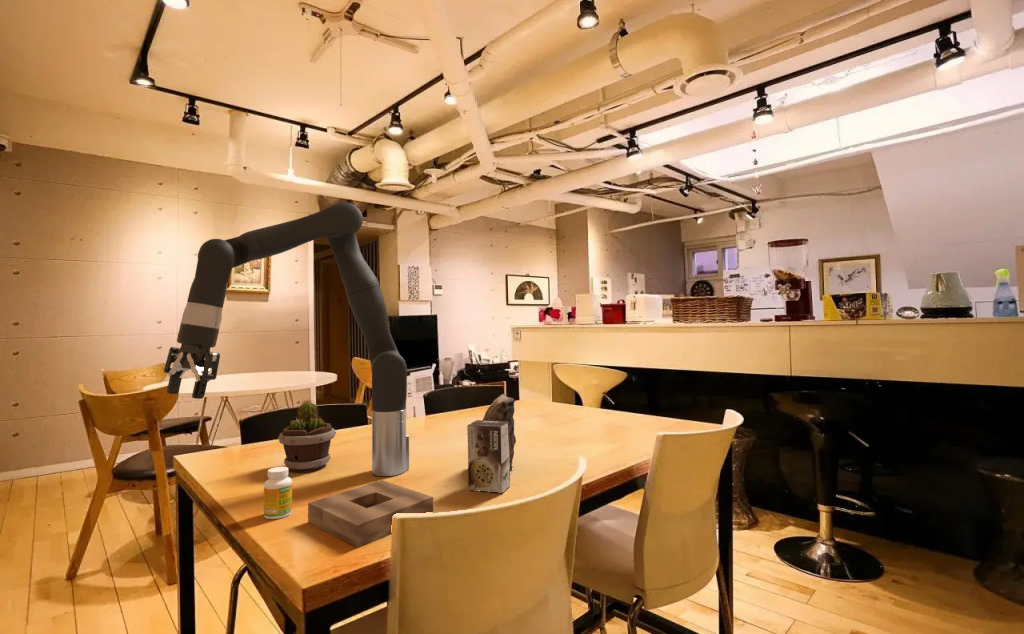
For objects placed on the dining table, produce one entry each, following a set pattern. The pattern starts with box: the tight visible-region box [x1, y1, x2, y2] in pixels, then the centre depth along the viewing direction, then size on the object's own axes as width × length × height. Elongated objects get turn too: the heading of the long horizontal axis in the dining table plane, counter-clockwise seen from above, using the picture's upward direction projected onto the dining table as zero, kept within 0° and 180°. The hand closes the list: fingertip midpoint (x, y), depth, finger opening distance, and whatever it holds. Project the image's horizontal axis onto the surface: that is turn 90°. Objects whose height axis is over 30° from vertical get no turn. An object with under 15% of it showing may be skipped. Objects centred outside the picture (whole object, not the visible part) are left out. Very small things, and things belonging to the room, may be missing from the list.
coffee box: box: [466, 419, 511, 494], centre depth 116 cm, size 9×6×16 cm
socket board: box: [307, 479, 434, 548], centre depth 98 cm, size 18×18×4 cm
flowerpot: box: [277, 398, 337, 473], centre depth 135 cm, size 14×15×20 cm
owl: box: [482, 393, 517, 472], centre depth 133 cm, size 13×13×20 cm
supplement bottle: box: [263, 466, 293, 520], centre depth 101 cm, size 5×5×10 cm
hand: (184, 396), depth 105 cm, fingers open, 8 cm apart
